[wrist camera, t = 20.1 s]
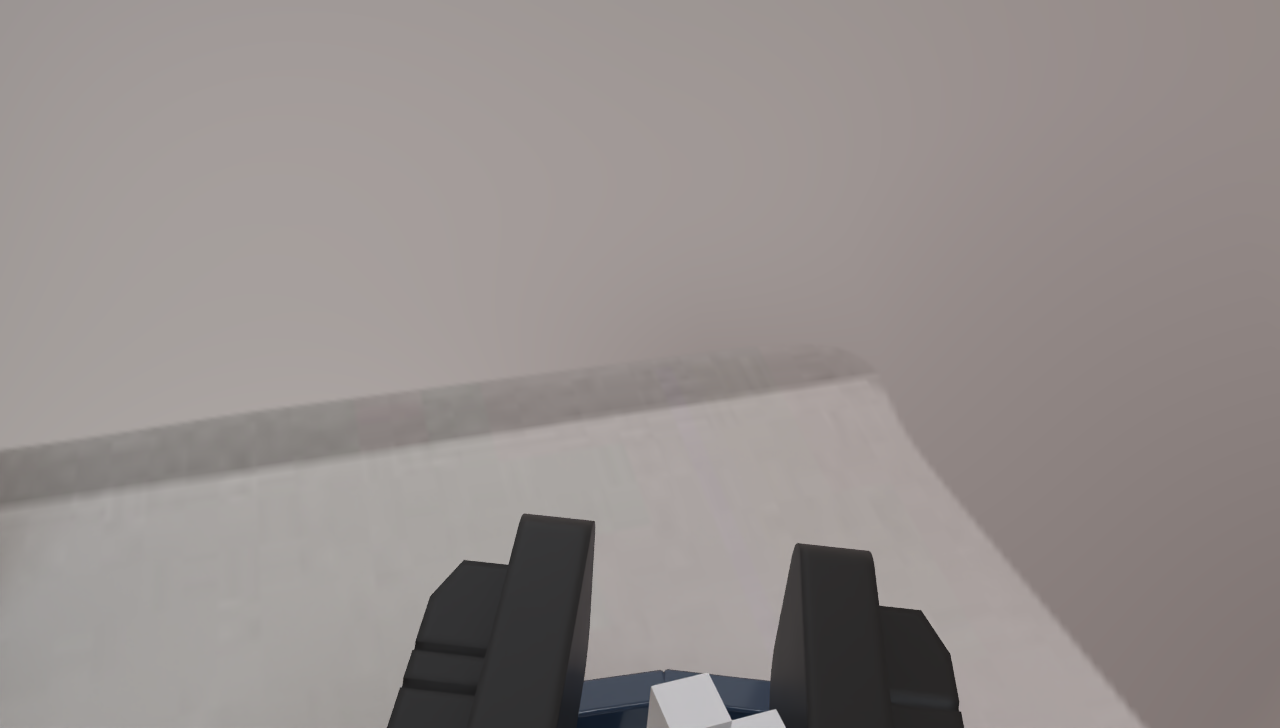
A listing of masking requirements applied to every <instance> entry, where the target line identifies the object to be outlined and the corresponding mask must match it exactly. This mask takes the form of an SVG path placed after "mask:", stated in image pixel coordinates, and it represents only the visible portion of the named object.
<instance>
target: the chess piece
mask: <svg viewBox="0 0 1280 728" xmlns="http://www.w3.org/2000/svg"><path fill="white" fill-rule="evenodd" d="M647 728H786V727H785V725H784V723H783V721H782V720H781V718H780V716H779V714H778V712H777V710H776V709H774V710H770V711H766V712H762V713H759V714H755V715H751V716H747V717H743V718H739V719H735V720H731V718H730V715H729V713H728V711H727V709H726V707H725V705H724V703H723V701H722V699H721V697H720V695H719V693H718V691H717V689H716V687H715V685H714V683H713V681H712V679H711V677H710V675H709V673H704V674H699V675H695V676H691V677H687V678H683V679H679V680H674V681H670V682H666V683H662V684H658V685H654V686H651V691H650V701H649V710H648V720H647Z"/></svg>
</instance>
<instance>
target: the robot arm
mask: <svg viewBox="0 0 1280 728" xmlns="http://www.w3.org/2000/svg"><path fill="white" fill-rule="evenodd" d="M594 542H595V521H589V520H579V519H570V518H561V517H551V516H542V515H533V514H523V515H522V517H521V520H520V523H519V526H518V530H517V534H516V538H515V542H514V546H513V549H512V553H511V557H510V561H509V565H504V564H495V563H486V562H476V561H467V560H464V561H463V562H462V563H461V564H460V565H459V566H458V567H457V568H456V569H455V570H454V571H453V572H452V573H451V575H450V576H449V577H448V578H447V579H446V580H445V581H444V582H443V583H442V584H441V585H440V586H439V588H438V589H437V590H436V591H435V592H434V593H433V594H432V595H431V596H430V599H429V602H428V605H427V608H426V611H425V614H424V617H423V620H422V623H421V626H420V629H419V632H418V635H417V638H416V644H415V649H414V650H412V653H411V657H410V660H409V663H408V666H407V669H406V672H405V675H404V678H403V686H402V688H400V690H399V693H398V696H397V699H396V702H395V705H394V708H393V711H392V714H391V717H390V720H389V723H388V726H387V728H576V726H577V720H578V714H579V708H580V701H581V695H582V689H583V682H584V675H585V667H586V659H587V650H588V640H589V628H590V612H591V594H592V577H593V560H594ZM774 709H776V710H777V712H778V714H779V716H780V718H781V720H782V721H783V723H784V725H785V727H786V728H964V725H963V720H962V714H961V712H959V698H958V693H957V688H956V682H955V677H954V671H953V666H952V661H951V655H950V653H949V652H948V650H947V649H946V647H945V646H944V644H943V643H942V641H941V640H940V638H939V637H938V635H937V634H936V632H935V631H934V629H933V628H932V626H931V625H930V623H929V622H928V620H927V619H926V617H925V616H924V614H923V613H922V611H921V610H913V609H904V608H894V607H885V606H879V600H878V592H877V584H876V576H875V568H874V561H873V557H872V554H871V552H870V551H864V550H855V549H846V548H836V547H827V546H818V545H809V544H799V543H797V544H796V545H795V547H794V551H793V554H792V559H791V564H790V569H789V574H788V579H787V585H786V590H785V595H784V600H783V605H782V610H781V615H780V620H779V625H778V631H777V636H776V641H775V646H774V653H773V660H772V669H771V681H770V702H769V711H770V710H774Z"/></svg>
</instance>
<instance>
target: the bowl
mask: <svg viewBox="0 0 1280 728" xmlns="http://www.w3.org/2000/svg"><path fill="white" fill-rule="evenodd" d="M699 674H704V673H695V672H687V671H678V670H669V669H667V670H665V672H663V671H661V670H657V671H650V672H643V673H636V674H629V675H622V676H615V677H607V678H600V679H593V680H586V681H584V682H583V689H582V695H581V701H580V708H579V714H578V720H577V726H576V728H647V720H648V710H649V701H650V691H651V686H654V685H658V684H662V683H666V682H670V681H674V680H679V679H683V678H687V677H691V676H695V675H699ZM709 675H710V677H711V679H712V681H713V683H714V685H715V687H716V689H717V691H718V693H719V695H720V697H721V699H722V701H723V703H724V705H725V707H726V709H727V711H728V713H729V715H730V718H731V720H735V719H739V718H743V717H747V716H751V715H755V714H759V713H762V712H766V711H769V702H770V681H765V680H757V679H748V678H739V677H730V676H722V675H713V674H709Z"/></svg>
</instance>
